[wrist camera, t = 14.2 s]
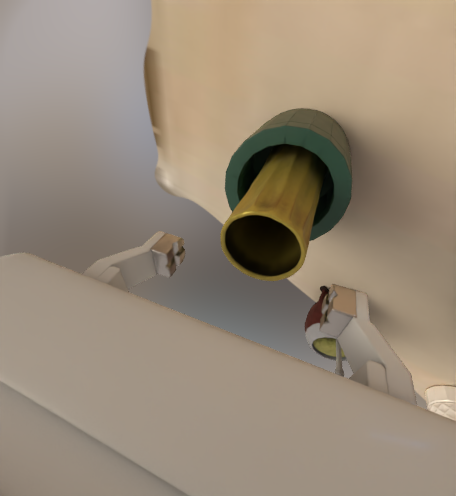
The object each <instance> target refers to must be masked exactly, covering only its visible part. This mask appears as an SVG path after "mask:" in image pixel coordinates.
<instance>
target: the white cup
mask: <svg viewBox="0 0 456 496" xmlns="http://www.w3.org/2000/svg"><path fill="white" fill-rule="evenodd" d="M425 398H426V403H427V408H428V409H427V410H429V411H431V412H434V413H437V414H439V415H442V416H444V417H447V418H449V419H452V420H454V421H456V387H453V386H433V387H431V388H428V389H426V392H425Z"/></svg>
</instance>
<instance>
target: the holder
mask: <svg viewBox="0 0 456 496" xmlns="http://www.w3.org/2000/svg"><path fill="white" fill-rule="evenodd" d="M280 144H290V145H296V146H302V147H304V148H305V149H307V150H309V151H311V152H313V153H315V154H316V155H318V156H319V158H320V159H321V160H322V161H323V162H324V163H325V164H326V165H327V167H328V168H327V173H326V176H325V178H324V180H323V184H322V188H321V191H320V194H319V200H318V204H317V207H316V211H315V215H314V220H313V224H312V229H311V234H310V240H309V241H311V240H314V239H316V238H318V237H319V236H321V235H323V234H325V233H326V232H328V231H329V230H331V229H332V228H333V227H334V226H335V225H336V224H337V223H338V222H339V220H340V219H341V218H342V216H343V215H344V213H345V211H346V209H347V206H348V204H349V202H350V199H351V189H352V170H351V154H350V148H349V144H348V140H347V137H346V135H345V133H344V131H343V130H342V128H341V127H340V126H339V124H338V123H337V122H336V121H335V120H333V119H332V118H331V117H330V116H328V115H326V114H324V113H322V112H319V111H317V110H312V109H293V110H289V111H286V112H283V113H281V114H279V115H277V116H275V117H273V118H272V119H271V120H269V121H268V122H266V123H265V124H264V125H263V126H261V127H260V128H259V129H258V130H257V131H256V132H255V133H253V134H252V135H251V136H250V137H249V138H248V139H246V140H245V141H244V142H243V144H242V145H241V146H240V147H239V148H238V150H237V151H236V152H235V153H234V154H233V156H232V158H231V160H230V163H229V166H228V168H227V171H226V179H225V192H226V195H227V199H228V203H229V207H230V208H231V210H232V212H233V211H234V209H235V208H236V206H237V205H238V204H239V202H240V201H241V200H242V198H243V197H244V196H245V195H246V193H247V192H248V190H249V189H250V187H251V185H252V183H253V182H254V180H255V179H256V177H257V176H258V174H259V173H260V171H261V169H262V168H263V166H264V164H265V163H266V161H267V158H268V156H269V154H270V152H271V150H272V149H273V147H274V146H275V145H280Z"/></svg>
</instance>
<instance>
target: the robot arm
mask: <svg viewBox="0 0 456 496" xmlns="http://www.w3.org/2000/svg"><path fill="white" fill-rule="evenodd" d="M183 245H184V240H183V239H182V238H180V237H177V236H174V235H171V234H167V233H164V232H161V231H158V232H157V233H155V235H153V236H152V237H151V238H150V239H149V240H148V241H147V242H146V243H145V244H144V245H143V246H142V247H136V248H133V249H130V250H127V251H124V252H121V253H117V254H114V255H111V256H108V257H105V258H102V259H99V260H98V261H96V262H95V263H94V264H93V265H92V266H90V267H89V268H88V269H87V270H86V271H85V272H83V273H82V274H80V273H78V272H75V271H73V270H70V269H68V268H65V267H63V266H60V265H58V264H55V263H52V262H50V261H47V260H45V259H42V258H40V257H37V256H35V255H33V254H30V253H16V254H11V255H7V256H2V257H0V496H456V421H454V420H452V419H449V418H447V417H444V416H442V415H439V414H437V413H434V412H431V411H429V410H426V409H424V408H421V407H419V406H417V402H416V396H415V391H414V386H413V381H412V376H411V373H410V372H409V371H408V369H407V368H406V367H405V365H404V364H403V363H402V361H401V360H400V359H399V357H398V356H397V355H396V353H395V352H394V351H393V349H392V348H391V347H390V345H389V344H388V343H387V341H386V340H385V338H384V337H383V336H382V334H381V333H380V332H379V330H378V329H377V328H376V326H375V325H374V324H373V323H370V317H369V306H368V295H367V294H366V293H363V292H360V291H356V290H353V289H349V288H346V287H342V286H339V285H336V284H332V285H331V287H330V288H329V293H328V294H326V296H325V298H324V301H323V304H322V309H321V313H322V314H323V316H322V318H321V319H320V329H319V331H321V332H323V333H326V334H328V335H331V336H334V337H336V338H337V339H338V342H339V344H340V346H341V348H342V350H343V352H344V354H345V356H346V358H347V361H348V363H349V364H350V367H351V369H352V371H353V373H354V374H353V375H352V376H351V377H350V378H349V379H348V378H345V377H342V376H340V375H337V374H335V373H332V372H330V371H327V370H324V369H322V368H320V367H317V366H314V365H312V364H309V363H307V362H304V361H302V360H299V359H297V358H294V357H292V356H289V355H287V354H284V353H281V352H278V351H276V350H274V349H271V348H269V347H266V346H263V345H261V344H258V343H256V342H253V341H251V340H248V339H245V338H243V337H240V336H238V335H235V334H233V333H230V332H228V331H225V330H223V329H220V328H218V327H215V326H213V325H210V324H208V323H205V322H202V321H200V320H197V319H195V318H192V317H190V316H187V315H185V314H182V313H180V312H177V311H175V310H172V309H169V308H167V307H164V306H162V305H159V304H157V303H154V302H151V301H149V300H147V299H144V298H141V297H139V296H136V295H134V294H131V293H129V291H128V289H130V288H132V287H134V286H136V285H138V284H140V283H142V282H144V281H145V280H147V279H149V278H151V277H153V276H155V275H156V274H160V275H162V276H166V277H169V278H170V277H171V276H172V275H173V273H174V272H175V271H176V266H178V265H180V264H181V263H182V262H183V259H184V257H185V249H184V248H183Z"/></svg>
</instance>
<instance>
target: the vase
mask: <svg viewBox="0 0 456 496" xmlns="http://www.w3.org/2000/svg"><path fill="white" fill-rule="evenodd" d="M327 168H328V167H327V165H326V164H325V163H324V162H323V161H322V160H321V159H320V158H319V156H318V155H316V154H315V153H313V152H311V151H309V150H307V149H305V148H304V147H302V146H296V145H290V144H280V145H275V146H274V147H273V149H272V150H271V152H270V154H269V156H268V158H267V161H266V163H265V164H264V166H263V168H262V169H261V171H260V173H259V174H258V176H257V177H256V179H255V180H254V182H253V183H252V185H251V187H250V189H249V190H248V192H247V193H246V195H245V196H244V197H243V198H242V200H241V201H240V202H239V204H238V205H237V206H236V208H235V209H234V211H233V212H232V214H231V215H230V217H229V218H228V220H227V221H226V222H225V224H224V226H223V228H222V230H221V247H222V250H223V252H224V254H225V255H226V257H227V258H228V260H229V261H230V262H231V264H233V265H234V266H235V267H236V268H237V269H238V270H240V271H241V272H243V273H244V274H246V275H248V276H250V277H253V278H256V279H260V280H267V281H277V280H281V279H285V278H288V277H290V276H291V275H293V274H294V273H296V272H297V271H298V270H299V269H300V268H301V267H302V265H303V263H304V261H305V257H306V254H307V249H308V245H309V240H310V234H311V229H312V224H313V220H314V215H315V211H316V207H317V204H318V200H319V194H320V191H321V188H322V184H323V180H324V178H325V176H326V173H327Z"/></svg>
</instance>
